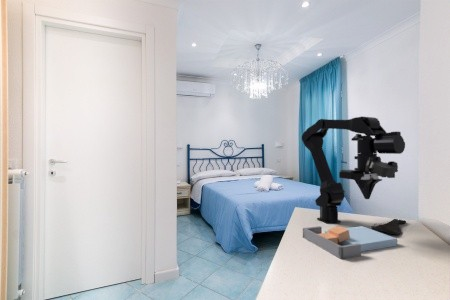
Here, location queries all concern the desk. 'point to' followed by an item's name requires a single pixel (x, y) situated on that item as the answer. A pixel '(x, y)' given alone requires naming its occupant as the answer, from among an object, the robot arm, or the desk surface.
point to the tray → (331, 244)
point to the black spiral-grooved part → (390, 227)
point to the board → (368, 238)
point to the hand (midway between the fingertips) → (367, 199)
